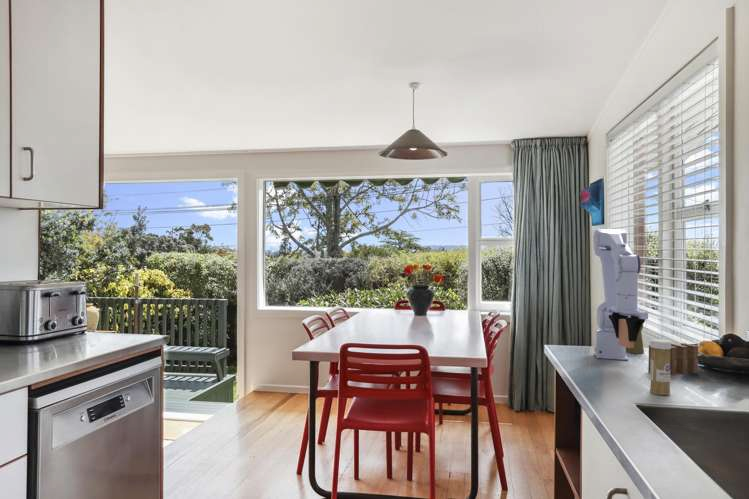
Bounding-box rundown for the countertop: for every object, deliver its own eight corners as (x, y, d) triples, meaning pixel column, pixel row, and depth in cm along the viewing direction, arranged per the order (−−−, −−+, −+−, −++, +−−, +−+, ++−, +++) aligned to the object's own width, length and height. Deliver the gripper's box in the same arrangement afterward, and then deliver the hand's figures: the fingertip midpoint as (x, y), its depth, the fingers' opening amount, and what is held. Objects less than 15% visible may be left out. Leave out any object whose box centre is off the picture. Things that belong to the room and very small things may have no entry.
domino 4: (683, 374, 146) (683, 346, 146) (670, 370, 151) (670, 343, 151) (687, 373, 147) (687, 346, 147) (674, 370, 151) (674, 343, 151)
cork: (647, 354, 173) (648, 322, 173) (629, 353, 173) (630, 321, 173) (638, 350, 179) (639, 319, 179) (621, 350, 179) (622, 319, 179)
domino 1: (629, 347, 150) (629, 321, 150) (618, 344, 154) (618, 318, 154) (633, 347, 150) (634, 321, 150) (622, 344, 155) (622, 318, 155)
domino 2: (660, 376, 144) (661, 348, 144) (648, 372, 148) (648, 345, 148) (665, 375, 144) (665, 347, 144) (652, 371, 149) (652, 344, 149)
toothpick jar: (665, 397, 124) (666, 342, 124) (646, 392, 127) (647, 339, 127) (673, 393, 126) (674, 340, 126) (654, 389, 130) (655, 337, 130)
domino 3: (672, 375, 145) (672, 347, 145) (659, 371, 149) (659, 344, 149) (676, 374, 146) (676, 347, 145) (663, 371, 150) (663, 344, 150)
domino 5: (693, 373, 147) (694, 346, 147) (680, 369, 152) (681, 343, 152) (697, 373, 148) (698, 345, 148) (684, 369, 152) (684, 343, 152)
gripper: (598, 292, 158) (598, 335, 158) (634, 297, 144) (633, 344, 144) (617, 292, 160) (616, 334, 160) (654, 297, 146) (653, 343, 146)
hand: (626, 339), depth 152 cm, fingers closed on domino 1, 4 cm apart
